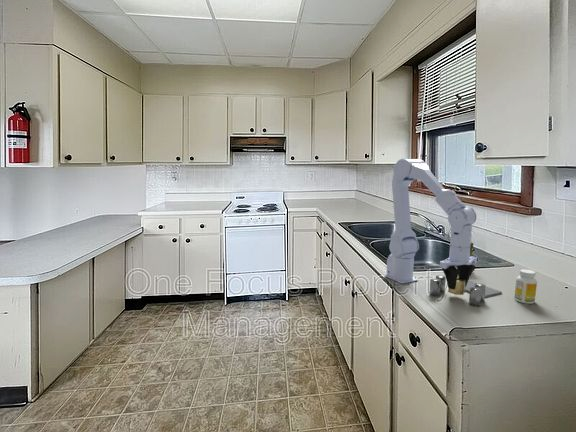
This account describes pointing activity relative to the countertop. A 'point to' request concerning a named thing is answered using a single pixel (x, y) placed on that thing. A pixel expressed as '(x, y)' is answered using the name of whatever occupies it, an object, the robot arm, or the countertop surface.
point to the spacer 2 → (441, 282)
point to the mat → (487, 290)
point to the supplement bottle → (526, 287)
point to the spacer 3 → (475, 296)
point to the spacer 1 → (434, 287)
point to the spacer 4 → (482, 287)
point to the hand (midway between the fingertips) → (456, 287)
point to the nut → (459, 287)
